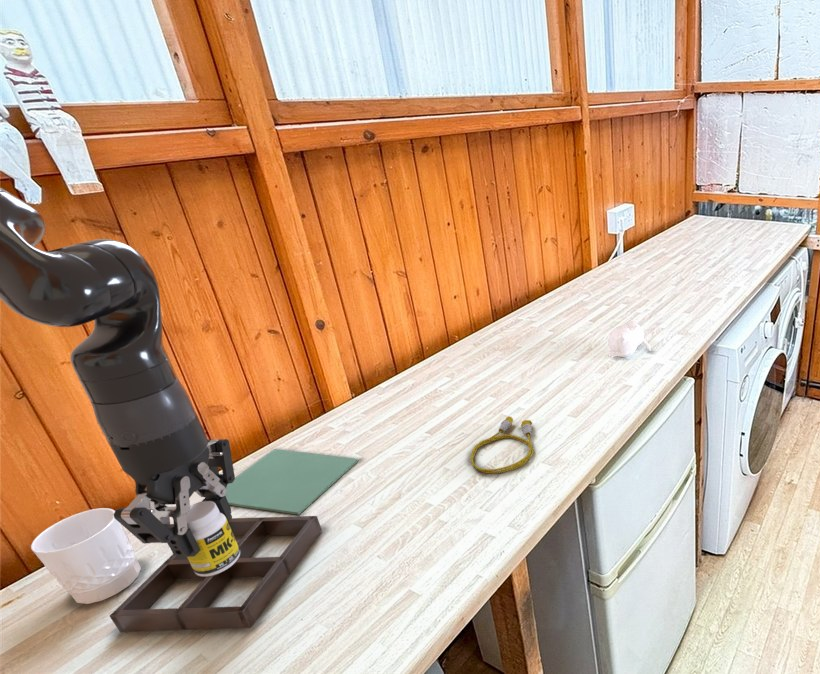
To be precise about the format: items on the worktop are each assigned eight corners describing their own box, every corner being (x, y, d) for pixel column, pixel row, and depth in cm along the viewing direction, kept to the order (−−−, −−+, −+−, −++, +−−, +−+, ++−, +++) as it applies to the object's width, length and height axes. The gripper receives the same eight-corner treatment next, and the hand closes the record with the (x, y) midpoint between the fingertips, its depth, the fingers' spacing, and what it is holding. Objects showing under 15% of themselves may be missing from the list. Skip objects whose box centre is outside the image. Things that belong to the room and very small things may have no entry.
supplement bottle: (222, 578, 64) (198, 526, 61) (185, 577, 64) (158, 526, 61) (250, 548, 69) (228, 498, 65) (215, 547, 69) (191, 498, 65)
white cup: (144, 551, 77) (115, 499, 73) (148, 583, 72) (116, 528, 68) (69, 583, 72) (33, 529, 68) (67, 619, 67) (28, 563, 63)
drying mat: (206, 501, 87) (205, 499, 87) (275, 451, 99) (274, 448, 99) (298, 515, 84) (297, 512, 83) (358, 460, 96) (357, 458, 96)
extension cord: (558, 436, 102) (557, 427, 101) (502, 483, 90) (500, 474, 89) (512, 420, 108) (510, 411, 107) (452, 462, 95) (450, 453, 94)
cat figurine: (632, 310, 137) (611, 325, 127) (663, 335, 136) (644, 352, 126) (617, 333, 142) (596, 349, 132) (647, 357, 141) (627, 375, 131)
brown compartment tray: (119, 632, 65) (108, 615, 64) (215, 533, 80) (208, 518, 79) (250, 628, 66) (242, 611, 64) (322, 530, 81) (316, 515, 79)
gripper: (170, 390, 64) (218, 498, 71) (51, 464, 51) (124, 586, 58) (232, 389, 64) (273, 497, 71) (128, 462, 51) (192, 585, 58)
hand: (206, 536), depth 65 cm, fingers closed on supplement bottle, 4 cm apart
